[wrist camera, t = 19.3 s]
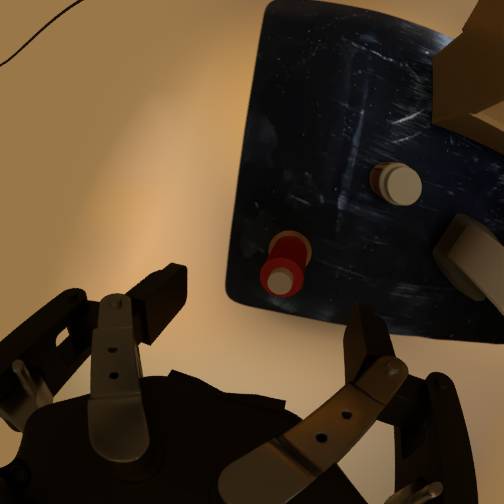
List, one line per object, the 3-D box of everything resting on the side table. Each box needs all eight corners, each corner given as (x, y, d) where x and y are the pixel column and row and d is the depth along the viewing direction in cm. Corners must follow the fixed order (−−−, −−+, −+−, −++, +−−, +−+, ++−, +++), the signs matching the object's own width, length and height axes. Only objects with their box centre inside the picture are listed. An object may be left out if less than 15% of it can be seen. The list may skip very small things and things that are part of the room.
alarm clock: (507, 256, 28) (571, 309, 12) (474, 304, 33) (523, 374, 16) (454, 196, 29) (535, 231, 12) (417, 253, 33) (473, 324, 16)
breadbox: (513, 99, 20) (552, 92, 10) (512, 159, 24) (555, 166, 14) (432, 57, 23) (463, 31, 13) (431, 123, 27) (469, 114, 17)
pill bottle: (384, 205, 32) (402, 218, 25) (361, 177, 32) (374, 183, 24) (408, 182, 30) (432, 190, 23) (386, 154, 30) (406, 154, 22)
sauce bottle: (267, 258, 38) (250, 290, 29) (282, 229, 37) (268, 254, 27) (297, 273, 38) (289, 310, 29) (313, 245, 36) (310, 275, 27)
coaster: (262, 258, 39) (261, 259, 39) (280, 222, 37) (279, 223, 36) (299, 277, 39) (299, 279, 38) (319, 242, 36) (319, 243, 36)
